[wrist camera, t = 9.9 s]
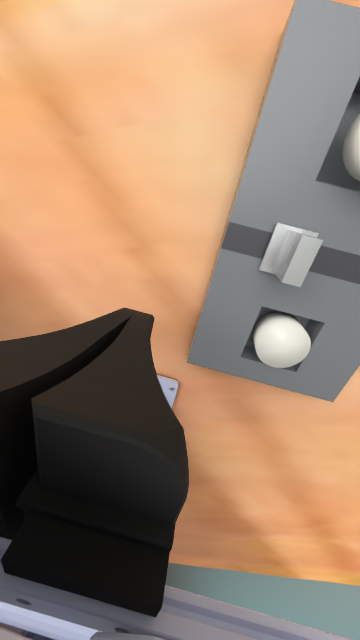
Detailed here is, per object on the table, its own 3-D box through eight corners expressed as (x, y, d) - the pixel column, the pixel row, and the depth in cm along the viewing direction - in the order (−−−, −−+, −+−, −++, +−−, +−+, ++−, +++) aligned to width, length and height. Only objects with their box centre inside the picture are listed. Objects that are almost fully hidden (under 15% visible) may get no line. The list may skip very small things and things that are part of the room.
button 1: (289, 357, 19) (296, 373, 17) (245, 345, 19) (248, 360, 17) (310, 318, 18) (320, 331, 16) (262, 306, 18) (267, 317, 16)
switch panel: (320, 381, 21) (332, 402, 19) (189, 345, 21) (186, 362, 19) (514, 86, 12) (582, 60, 10) (283, 30, 12) (297, -7, 10)
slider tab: (295, 278, 15) (311, 294, 12) (258, 268, 15) (266, 282, 12) (316, 232, 14) (340, 239, 11) (276, 222, 14) (290, 226, 11)
